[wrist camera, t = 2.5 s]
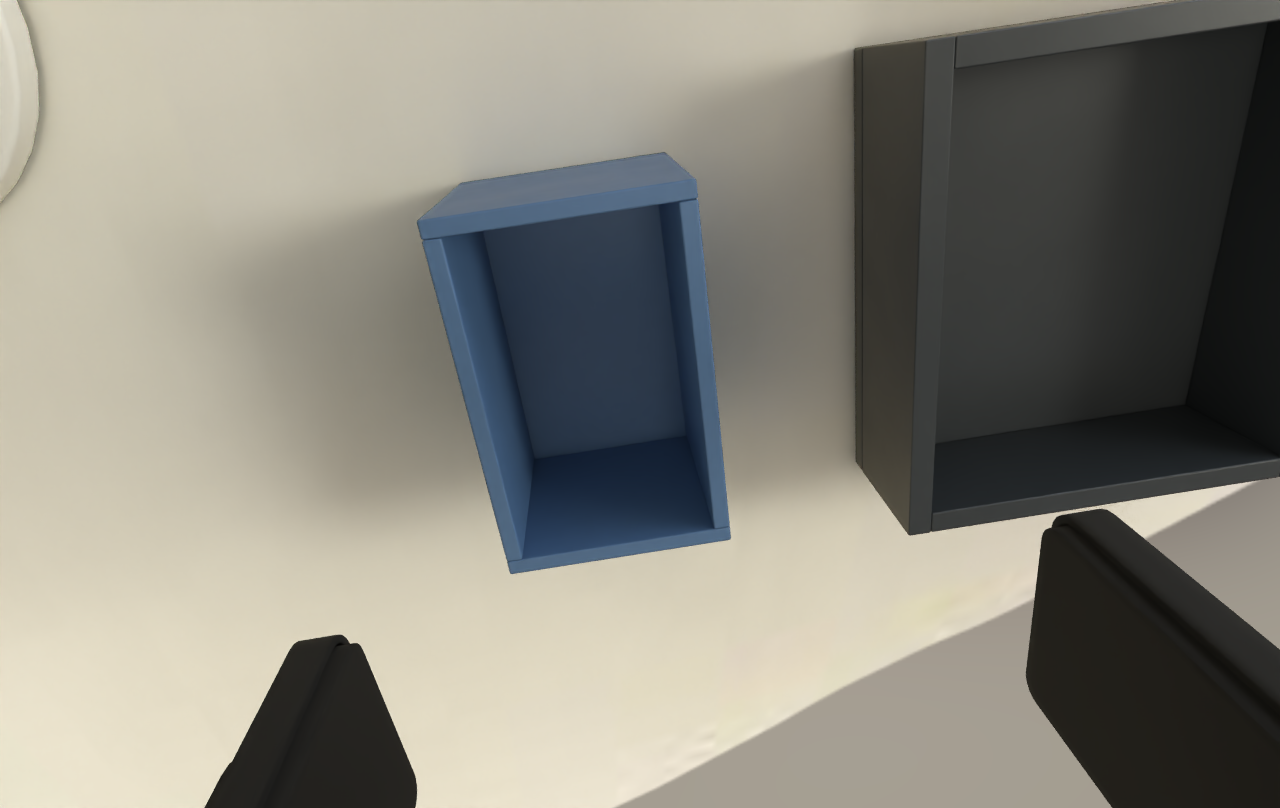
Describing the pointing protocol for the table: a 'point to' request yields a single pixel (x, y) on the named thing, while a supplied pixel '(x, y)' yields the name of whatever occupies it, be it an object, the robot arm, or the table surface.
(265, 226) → the table surface
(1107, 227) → the box
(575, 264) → the blue bin
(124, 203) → the table surface
